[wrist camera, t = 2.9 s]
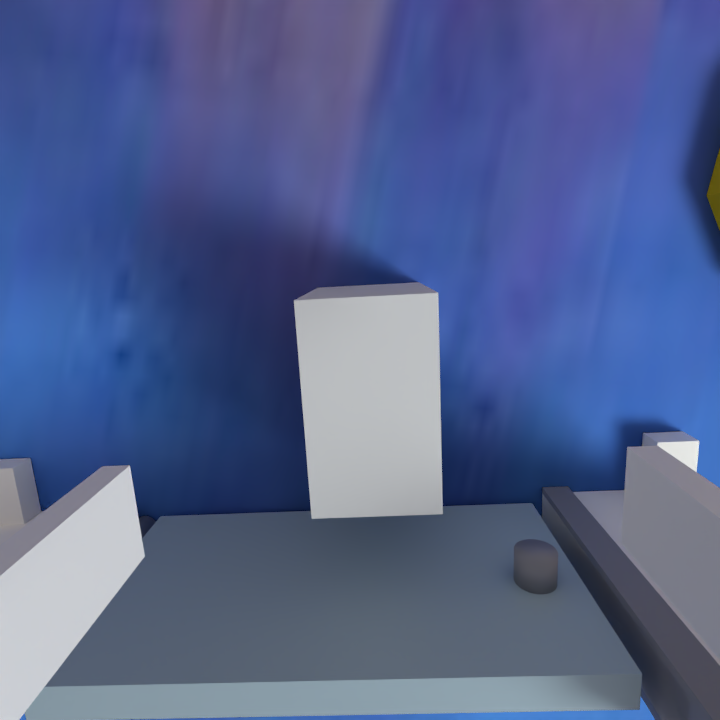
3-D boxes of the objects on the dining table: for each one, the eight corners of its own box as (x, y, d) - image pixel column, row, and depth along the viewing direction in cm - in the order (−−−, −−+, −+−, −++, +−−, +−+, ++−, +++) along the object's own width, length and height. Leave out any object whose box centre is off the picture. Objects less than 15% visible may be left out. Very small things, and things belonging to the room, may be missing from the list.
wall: (24, 593, 34) (-312, 915, 17) (-6, 459, 32) (-418, 678, 15) (670, 574, 32) (985, 912, 16) (682, 431, 30) (1059, 643, 14)
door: (137, 536, 33) (-34, 738, 19) (130, 492, 32) (-53, 668, 18) (530, 523, 32) (649, 726, 18) (530, 477, 31) (655, 651, 17)
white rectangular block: (329, 445, 31) (311, 518, 22) (318, 287, 29) (293, 300, 20) (423, 441, 31) (442, 514, 22) (418, 282, 29) (438, 292, 20)
